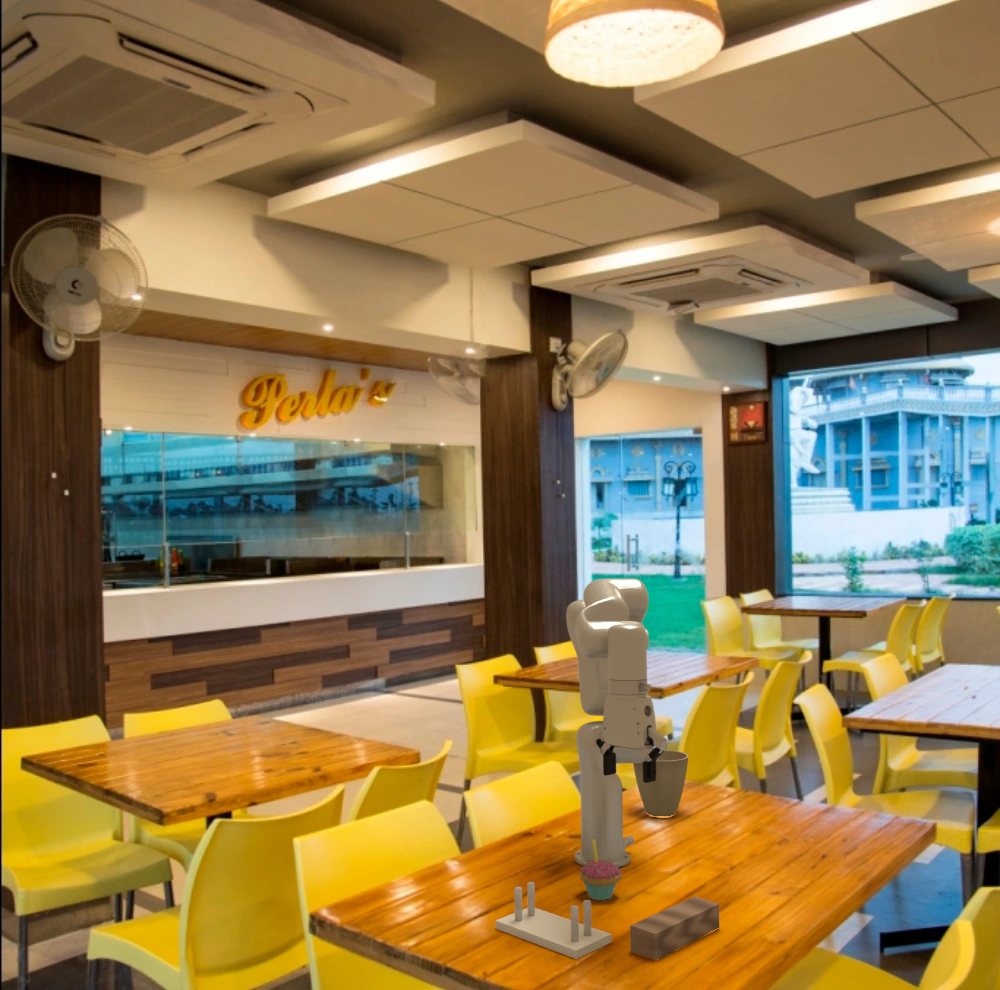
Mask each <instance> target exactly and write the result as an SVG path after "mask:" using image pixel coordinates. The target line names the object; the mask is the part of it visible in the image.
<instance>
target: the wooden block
mask: <svg viewBox="0 0 1000 990" xmlns="http://www.w3.org/2000/svg"><path fill="white" fill-rule="evenodd" d="M629 927H630V928H629V929H630V937H629V938H630V953H632V952H633V953H632V954H635V953H636V954H635V955H637V954H639V955H638V956H640V955H642V956H641V957H643V956H645V957H647V958H646V959H648V958H650V959H649V960H651V959H653V960H652V961H654V960H657V959H659V960H661V959H662V957H663V958H665V957H666V955H667V954H669V955H671V954H672V952H673V953H674V951H675V950H677V949H679V948H681V947H683V946H685V945H687V944H689V943H691V942H693V941H695V940H697V939H699V938H700V937H702V936H704V935H706V934H708V933H709V932H711V931H713V930H715V929H717V928H719V929H720V904H719V903H717V902H714V901H710V900H706V899H704V898H700V897H697V896H693V897H691V898H688V899H686V900H684V901H682V902H680V903H677V904H675V905H673V906H670V907H668V908H666V909H664V910H661V911H660V912H657V913H655V914H652V915H650V916H648V917H646V918H644V919H641V920H640V921H637V922H634V923H633V924H630V926H629ZM699 940H700V939H699ZM697 941H698V940H697ZM695 942H696V941H695ZM693 943H694V942H693ZM691 944H692V943H691ZM689 945H690V944H689ZM687 946H688V945H687ZM685 947H686V946H685ZM683 948H684V947H683ZM681 949H682V948H681ZM679 950H680V949H679ZM677 951H678V950H677ZM675 952H676V951H675ZM670 953H671V954H670ZM664 956H665V957H664ZM667 956H668V955H667ZM645 957H644V958H645ZM660 958H661V959H660ZM657 961H658V960H657Z"/></svg>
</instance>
